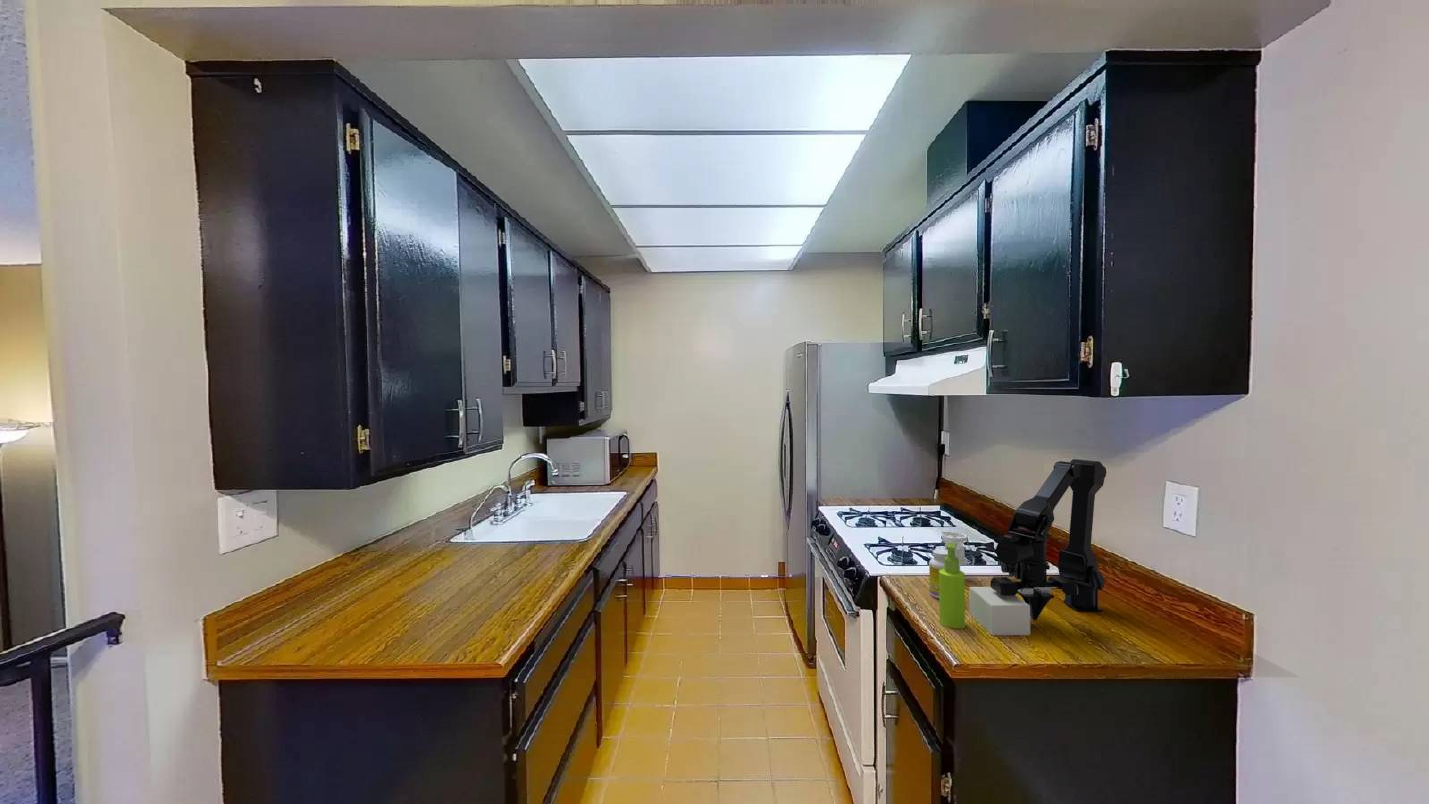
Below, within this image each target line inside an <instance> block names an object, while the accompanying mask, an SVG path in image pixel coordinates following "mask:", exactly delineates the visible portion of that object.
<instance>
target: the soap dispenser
mask: <svg viewBox="0 0 1429 804" xmlns="http://www.w3.org/2000/svg"><path fill="white" fill-rule="evenodd" d="M956 545H957V543H950V542H949V543H948V544H947V549H948V556H946V557H944V569H940V570H939V599H938V600H939V603H938V605H939V623H940V624H941V625H943V626H944V627H946V628H951V629H963V628H964V627H966V598H965V597H966V594H965V593H966V592H965V591H966V589H965V587H966V586H965V584H966V583H965V572H964V571H962V570H961V569H960V570H959V559H958V558H956V557H955V548H956Z"/></svg>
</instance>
